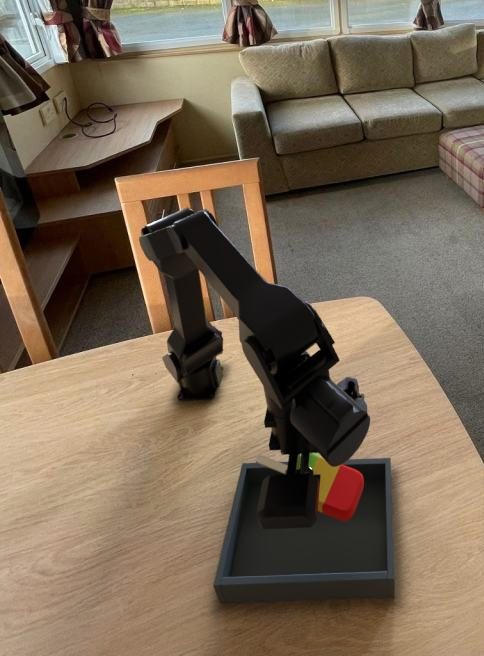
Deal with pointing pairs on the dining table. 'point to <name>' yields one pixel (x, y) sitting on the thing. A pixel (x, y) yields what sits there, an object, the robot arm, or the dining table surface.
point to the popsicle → (329, 485)
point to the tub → (309, 546)
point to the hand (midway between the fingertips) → (304, 476)
